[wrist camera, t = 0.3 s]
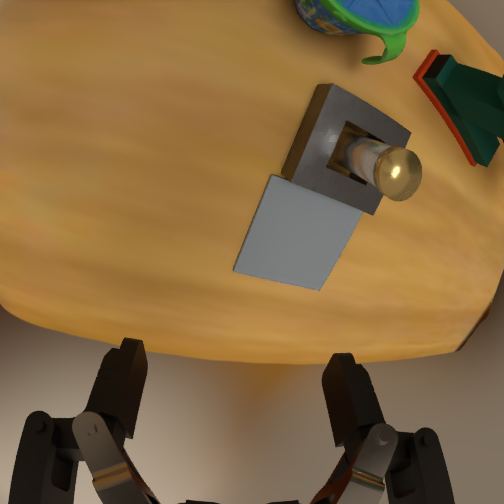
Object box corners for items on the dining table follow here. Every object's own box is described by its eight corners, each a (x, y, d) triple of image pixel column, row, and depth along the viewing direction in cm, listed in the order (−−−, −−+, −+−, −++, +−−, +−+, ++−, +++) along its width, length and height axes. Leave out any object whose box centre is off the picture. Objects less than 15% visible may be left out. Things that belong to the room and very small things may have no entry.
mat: (271, 173, 30) (272, 175, 30) (361, 208, 34) (363, 210, 33) (232, 269, 36) (233, 271, 35) (318, 288, 40) (319, 290, 39)
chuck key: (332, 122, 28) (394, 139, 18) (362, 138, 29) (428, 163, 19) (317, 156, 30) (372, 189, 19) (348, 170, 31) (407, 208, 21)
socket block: (317, 84, 25) (332, 83, 22) (391, 127, 29) (411, 132, 25) (280, 172, 30) (290, 182, 27) (357, 203, 33) (373, 215, 30)
